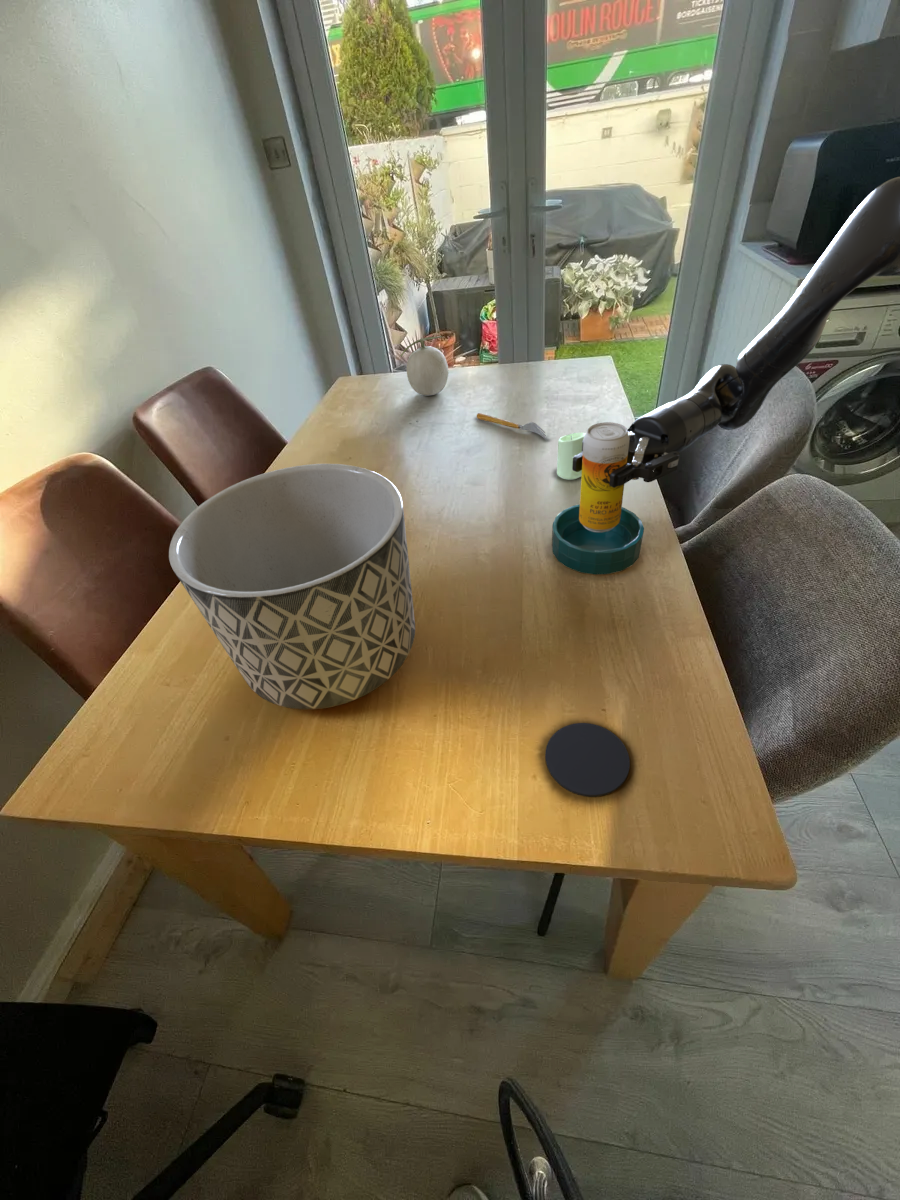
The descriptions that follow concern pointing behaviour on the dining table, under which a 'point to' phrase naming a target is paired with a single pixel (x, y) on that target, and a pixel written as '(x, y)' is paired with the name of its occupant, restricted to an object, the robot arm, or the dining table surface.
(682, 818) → the dining table surface
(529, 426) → the fork
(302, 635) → the planter
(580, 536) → the bowl
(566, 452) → the candle
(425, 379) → the fruit
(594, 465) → the beer can
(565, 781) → the coaster
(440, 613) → the dining table surface
